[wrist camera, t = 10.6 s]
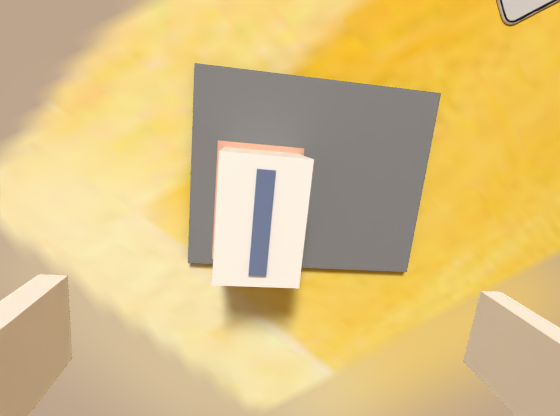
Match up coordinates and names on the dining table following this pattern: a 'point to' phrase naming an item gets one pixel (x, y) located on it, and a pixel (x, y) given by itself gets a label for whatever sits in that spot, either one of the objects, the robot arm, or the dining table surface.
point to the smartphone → (520, 9)
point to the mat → (319, 159)
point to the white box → (260, 217)
